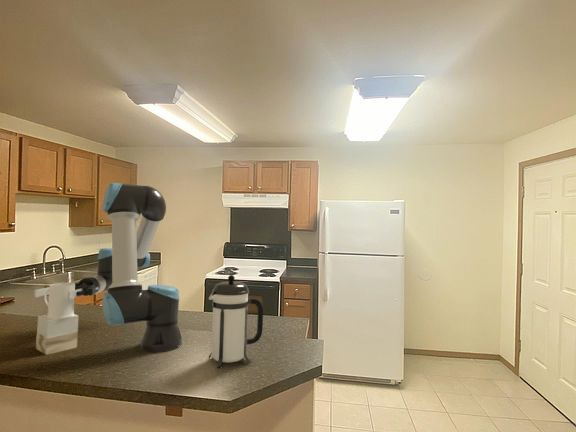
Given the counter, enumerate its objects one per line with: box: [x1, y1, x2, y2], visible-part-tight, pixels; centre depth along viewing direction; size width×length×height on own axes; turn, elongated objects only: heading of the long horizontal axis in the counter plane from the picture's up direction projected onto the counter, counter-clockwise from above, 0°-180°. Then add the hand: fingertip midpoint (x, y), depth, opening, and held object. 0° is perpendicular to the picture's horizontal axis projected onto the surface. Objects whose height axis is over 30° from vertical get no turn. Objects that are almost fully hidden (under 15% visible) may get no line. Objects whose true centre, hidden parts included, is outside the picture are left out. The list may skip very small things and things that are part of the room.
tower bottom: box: [35, 331, 79, 355], centre depth 126 cm, size 10×10×6 cm
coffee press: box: [208, 274, 264, 369], centre depth 119 cm, size 17×16×30 cm
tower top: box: [36, 313, 80, 338], centre depth 127 cm, size 10×10×6 cm
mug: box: [43, 282, 76, 319], centre depth 127 cm, size 12×8×12 cm
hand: (51, 294), depth 124 cm, fingers open, 13 cm apart
